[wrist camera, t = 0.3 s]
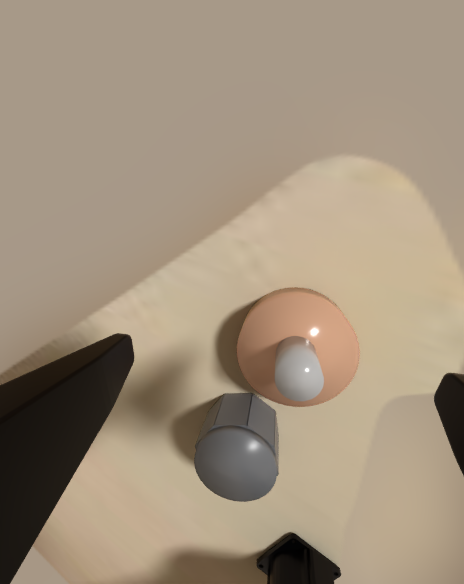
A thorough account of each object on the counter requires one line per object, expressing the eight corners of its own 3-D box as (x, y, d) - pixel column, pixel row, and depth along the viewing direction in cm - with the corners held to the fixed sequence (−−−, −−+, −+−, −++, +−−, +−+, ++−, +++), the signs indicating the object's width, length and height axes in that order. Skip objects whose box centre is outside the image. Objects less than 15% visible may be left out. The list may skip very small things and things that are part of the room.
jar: (300, 403, 24) (307, 464, 18) (222, 343, 24) (202, 383, 18) (373, 333, 22) (411, 376, 15) (286, 265, 22) (288, 281, 15)
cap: (249, 463, 27) (242, 514, 22) (197, 423, 27) (179, 466, 22) (291, 423, 25) (294, 470, 20) (235, 380, 25) (225, 417, 20)
